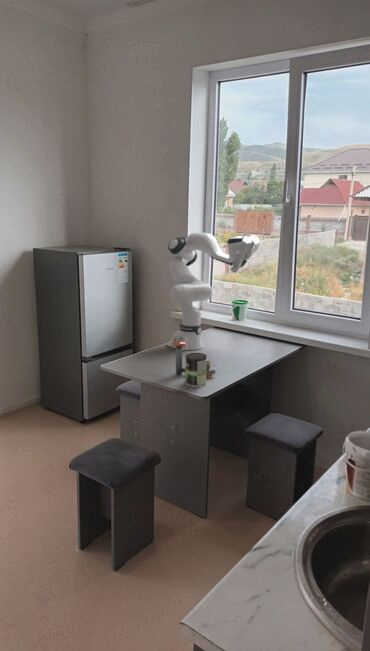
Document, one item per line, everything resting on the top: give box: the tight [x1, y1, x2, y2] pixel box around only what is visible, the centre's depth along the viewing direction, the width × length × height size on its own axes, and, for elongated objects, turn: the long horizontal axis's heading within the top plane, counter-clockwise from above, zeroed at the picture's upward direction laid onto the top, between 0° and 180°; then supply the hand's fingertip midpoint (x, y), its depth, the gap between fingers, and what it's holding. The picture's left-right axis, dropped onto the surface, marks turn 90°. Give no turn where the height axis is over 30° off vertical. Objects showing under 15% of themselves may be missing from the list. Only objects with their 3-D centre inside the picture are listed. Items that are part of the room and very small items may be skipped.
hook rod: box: [173, 341, 216, 376], centre depth 251 cm, size 22×6×17 cm, turn 82°
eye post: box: [206, 360, 213, 380], centre depth 252 cm, size 7×8×7 cm
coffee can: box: [185, 352, 208, 388], centre depth 241 cm, size 10×10×14 cm
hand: (234, 261), depth 267 cm, fingers open, 8 cm apart
